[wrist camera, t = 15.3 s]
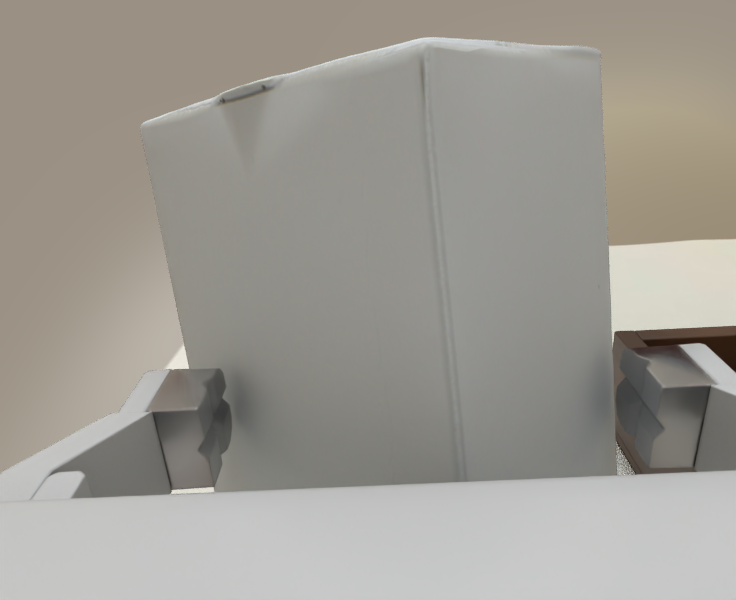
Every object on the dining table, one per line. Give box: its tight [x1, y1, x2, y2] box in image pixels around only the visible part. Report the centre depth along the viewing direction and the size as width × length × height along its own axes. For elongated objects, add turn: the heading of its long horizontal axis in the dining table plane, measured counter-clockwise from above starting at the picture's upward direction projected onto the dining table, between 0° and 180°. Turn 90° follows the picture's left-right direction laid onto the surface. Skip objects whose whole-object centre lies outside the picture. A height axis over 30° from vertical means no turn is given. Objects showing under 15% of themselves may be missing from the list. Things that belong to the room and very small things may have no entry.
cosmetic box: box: [140, 37, 617, 492], centre depth 14 cm, size 8×6×15 cm
